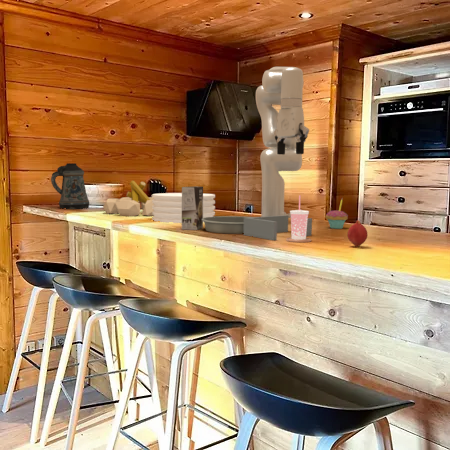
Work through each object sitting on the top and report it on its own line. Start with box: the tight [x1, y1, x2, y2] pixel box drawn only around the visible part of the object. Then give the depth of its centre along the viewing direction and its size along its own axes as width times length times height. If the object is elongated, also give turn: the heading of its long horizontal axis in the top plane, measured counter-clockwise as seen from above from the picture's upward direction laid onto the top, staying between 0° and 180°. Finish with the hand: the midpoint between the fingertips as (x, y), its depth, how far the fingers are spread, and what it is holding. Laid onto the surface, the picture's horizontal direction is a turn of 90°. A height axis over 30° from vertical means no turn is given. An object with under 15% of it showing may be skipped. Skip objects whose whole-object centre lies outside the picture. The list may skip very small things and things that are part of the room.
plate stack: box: [151, 192, 216, 224], centre depth 231 cm, size 28×28×12 cm
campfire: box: [102, 180, 154, 217], centre depth 260 cm, size 35×34×17 cm
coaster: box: [285, 236, 312, 243], centre depth 167 cm, size 8×8×1 cm
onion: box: [347, 219, 368, 248], centre depth 155 cm, size 6×6×8 cm
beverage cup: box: [289, 194, 310, 240], centre depth 166 cm, size 6×6×14 cm
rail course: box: [243, 215, 313, 241], centre depth 179 cm, size 20×16×6 cm
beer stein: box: [50, 162, 90, 210], centre depth 287 cm, size 16×19×25 cm
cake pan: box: [202, 215, 250, 235], centre depth 194 cm, size 25×25×4 cm
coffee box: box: [181, 186, 204, 231], centre depth 197 cm, size 9×6×16 cm
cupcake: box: [325, 197, 349, 230], centre depth 204 cm, size 9×8×12 cm
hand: (290, 154), depth 183 cm, fingers open, 9 cm apart
